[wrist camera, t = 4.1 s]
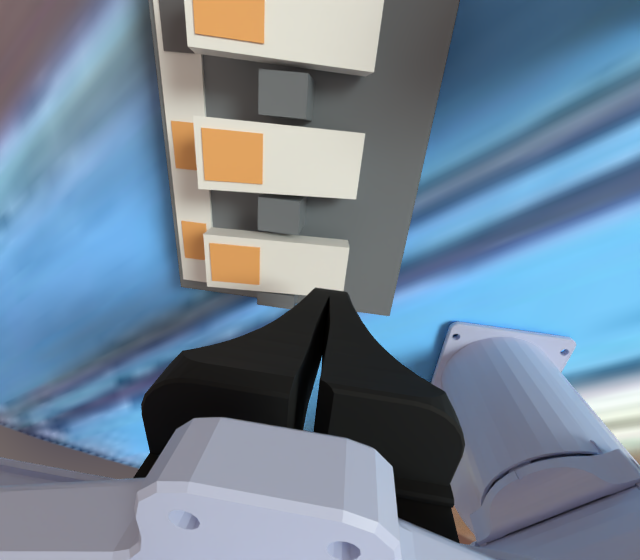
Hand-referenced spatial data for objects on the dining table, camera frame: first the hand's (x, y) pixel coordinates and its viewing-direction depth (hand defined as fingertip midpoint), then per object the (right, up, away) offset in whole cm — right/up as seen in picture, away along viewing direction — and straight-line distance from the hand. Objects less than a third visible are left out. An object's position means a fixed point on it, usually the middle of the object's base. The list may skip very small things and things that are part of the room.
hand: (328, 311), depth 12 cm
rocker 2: (-2, +2, +4) cm, 5 cm away
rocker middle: (-2, +7, +2) cm, 7 cm away
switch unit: (-2, +8, +6) cm, 10 cm away
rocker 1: (-2, +11, 0) cm, 11 cm away
